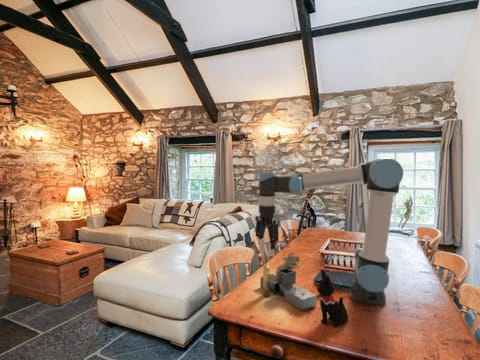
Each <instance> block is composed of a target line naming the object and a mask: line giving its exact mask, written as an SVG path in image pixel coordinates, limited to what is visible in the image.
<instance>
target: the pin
mask: <svg viewBox="0 0 480 360" xmlns="http://www.w3.org/2000/svg"><path fill="white" fill-rule="evenodd" d="M262 272H263V273H262V277H263V288H262V296H263V297H265V298H269V297H270V292H269V279H270V265H267V264H266V265H263V267H262Z"/></svg>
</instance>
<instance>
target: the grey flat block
mask: <svg viewBox="0 0 480 360" xmlns="http://www.w3.org/2000/svg"><path fill="white" fill-rule="evenodd" d="M316 296H317V294H315V293H313V292H311V291H308V290H307V289H305V288H303V287H301V286H299V285H295V286H294V285H293V287H290V288H287V289H284V298H283V300H285V301H287V302H288V303H290V304H291V305H293V306H295V307H296V308H298V309H299V310H301V311H305V310H308V309H311V308H314V307H317V300H316Z"/></svg>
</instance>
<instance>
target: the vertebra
mask: <svg viewBox="0 0 480 360" xmlns="http://www.w3.org/2000/svg"><path fill="white" fill-rule="evenodd" d="M281 258H282V261H284V262H283V263H282V264H280V265H278V268H279V270H280V269H283V268H288V269H290V268H291V269H292V270H293V271H295V270H294V267H295V268H296V267H297V268H300V265H299V264H298V263H299V262H300V258H299V256H298V255H297V256H294V252H290V253H287V255H286V256H284V257H281Z"/></svg>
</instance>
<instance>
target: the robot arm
mask: <svg viewBox="0 0 480 360" xmlns="http://www.w3.org/2000/svg"><path fill="white" fill-rule="evenodd" d="M403 178H404V168H403V166H402V165H401V163H399V162H398V161H397V160H396V159H394V158H391V157H380V158H376V159H374V160H371V161H367V162H363V163H359V164H358V165H357V166H353V167H344V168H338V169H337V168H335V169H330V170H323V171H317V172H315V171H314V172H310V173H302V174H301V173H300V174H294V175H290V176H289V175H288V176H284V175H283V176H279V175H276V172H275V171H261V172H260V173H259V177H258V179H259V180H258V214H259V215H256V216H255V237H256V238H257V239H258V251H259V254H263V253H265V252H266V251H265V249H266V248H265V247H266V246H265V244H266V242H265V241H266V238H265V232H266V228H267V232H268V238H269V241H268V257H273V256H275V248H276V242H279V223H280V220H279V219H276V218H275V216H274V214H275V213H276V205H275V204H276V193H281V194H301V193H302V192H303V191H304V190H309V189H310V190H311V189H319V188H329V187H336V186H344V185H352V184H353V185H354V184H361V185H363V186H364V185H366V190H367V192H368V193H369V199H368V206H367V207H368V208H367V216H366V224H365V232H364V239H363V240H364V241H363V247H359V248H356V249H355V250H354V279H353V282H352V285H351V288H350V291H349V296H350V297H349V298H351V299H352V301H355V302H357V303H358V304H362V305H365V306H372V307H373V306H374V307H379V306H383V305H385V304H386V301H387V297H386V292H385V289H386V288H387V287H388V285H389V282H390V274H389V267H390V258H389V257H388V256H387V254H386V253H387V248H388V240H389V235H390V234H389V233H390V226H391V220H392V219H391V217H392V211H393V203H394V197H395V196H396V195H398V194H399V191H400V185H401V182H402V180H403ZM302 190H303V191H302Z"/></svg>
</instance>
